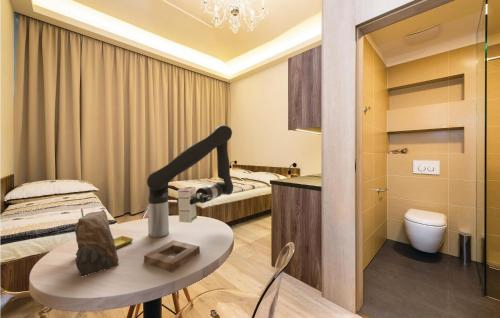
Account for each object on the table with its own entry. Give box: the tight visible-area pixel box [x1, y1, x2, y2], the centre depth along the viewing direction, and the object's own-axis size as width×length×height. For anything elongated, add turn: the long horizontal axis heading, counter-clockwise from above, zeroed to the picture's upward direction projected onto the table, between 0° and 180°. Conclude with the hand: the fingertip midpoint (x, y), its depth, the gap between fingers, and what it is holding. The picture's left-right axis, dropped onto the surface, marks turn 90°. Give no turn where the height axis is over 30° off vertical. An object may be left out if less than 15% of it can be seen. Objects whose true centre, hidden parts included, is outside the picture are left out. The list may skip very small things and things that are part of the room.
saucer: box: [113, 235, 134, 249], centre depth 97 cm, size 9×9×2 cm
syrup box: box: [177, 186, 198, 224], centre depth 91 cm, size 6×6×14 cm
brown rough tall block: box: [74, 209, 119, 277], centre depth 78 cm, size 13×13×20 cm
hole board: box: [143, 239, 201, 273], centre depth 83 cm, size 15×15×3 cm
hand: (183, 201), depth 89 cm, fingers closed on syrup box, 6 cm apart
